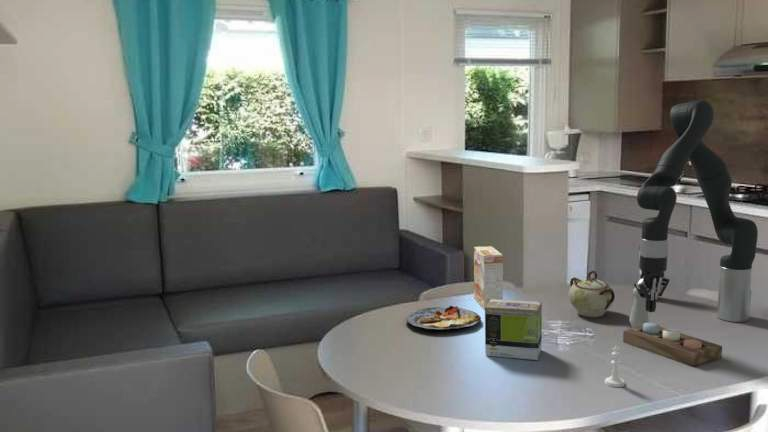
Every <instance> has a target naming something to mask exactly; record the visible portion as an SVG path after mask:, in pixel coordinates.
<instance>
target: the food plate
mask: <svg viewBox="0 0 768 432" xmlns="http://www.w3.org/2000/svg"><path fill="white" fill-rule="evenodd" d="M481 318H482V317H481V316H480V315H479V314H478V313H477V312H475V311H473V310H470V309H465V308H461V307H458V305H456V306H453V305H449V306H448V307H447V306H446V307H444V306H439V307H436V306H434V307H427V308H425V307H424V308H419V309H418V308H417V309H414V310H411V311H409V312H407V313H406V314H405V315H404V320H405V321H406V322H408V324H411V325H412V326H415V327H419V328H423V329H424V330H425V329H426V330H427V331H429V330H432V329H433V330H448V331H449V330H451V329H454V330H455V329H458V330H459V329H460V328H466V327H467V328H469V327H474V326H476V325H478V324H479V323H481V321H482V319H481Z"/></svg>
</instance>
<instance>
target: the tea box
mask: <svg viewBox="0 0 768 432" xmlns="http://www.w3.org/2000/svg"><path fill="white" fill-rule="evenodd" d="M542 305H543V303H542V301H538V300H521V299H520V300H519V299H504V298H503V299H491V300H490V301H489V303H488V304H487V306H486V307H485V310H484V337H485V338H484V341H485V343H484V344H485V346H484V349H485V350H484V351H485V356H487V357H498V358H509V359H521V360H532V361H538V360H539V357H540V354H541V351H542V346H543V345H542V341H543V340H542V339H543V336H542V335H543V333H542V332H543V331H542V329H543V327H542V323H543V322H542V318H543V317H542V315H543V314H542V309H543V307H542Z"/></svg>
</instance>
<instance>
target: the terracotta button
mask: <svg viewBox="0 0 768 432" xmlns="http://www.w3.org/2000/svg"><path fill="white" fill-rule="evenodd" d="M684 346H685V347H688V348H691V349H694V350H696V349H699V348H701V347H702V342H700V341H698V340H693V339H687V340H684Z"/></svg>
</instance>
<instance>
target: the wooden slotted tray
mask: <svg viewBox="0 0 768 432" xmlns="http://www.w3.org/2000/svg"><path fill="white" fill-rule="evenodd" d="M664 329H668V328H666V327H662V326H660V327H659V334H657V335H653V336H652V335H649V334H646V333H643V326H639V327H635V328H632V327H631V328H628V329H625V330H622V331H623V335H622V337H623V338H622V342H623V343H625V344H627V345H632V346H634V347H637V348H639V349H641V350H645V351H648V352H650V353H652V354H653V353H654V354H656V355H659V356H662V357H664V358H667V359H670V360H672V361H676V362H677V363H678V362H679V363H682V364H684V365H688V366H689V367H692V368H696V367H698V366H702V365H704V364H708V363H711V362H713V361H717V360H719V359H722V356H723V345H720V344H717V343H713V342H711V341H707V340H705V339H701V338H698V337H695V336H692V335H688V334H686V333H683V332H682V333H681V332H680V341H677V342H670V341H667V340H664V339H662V338H663V330H664ZM687 339H693V340H698V341H700V342H702V347H701V348H699V349H696V350H694V349H691V348H688V347H685V346H684V340H687Z"/></svg>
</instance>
